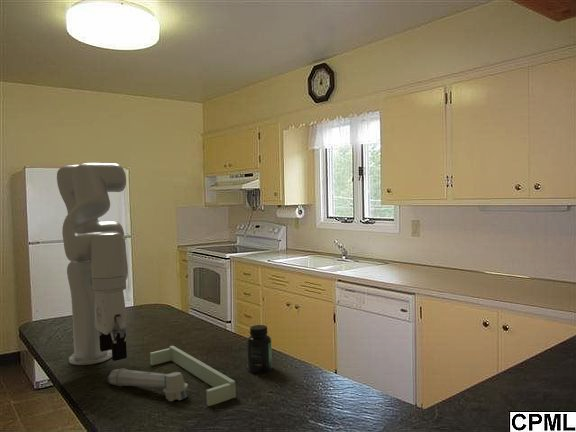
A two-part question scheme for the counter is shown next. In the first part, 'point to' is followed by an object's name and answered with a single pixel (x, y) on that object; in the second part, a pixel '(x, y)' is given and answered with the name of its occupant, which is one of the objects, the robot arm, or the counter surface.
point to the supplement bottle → (259, 350)
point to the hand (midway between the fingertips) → (113, 354)
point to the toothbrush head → (151, 381)
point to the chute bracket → (198, 373)
